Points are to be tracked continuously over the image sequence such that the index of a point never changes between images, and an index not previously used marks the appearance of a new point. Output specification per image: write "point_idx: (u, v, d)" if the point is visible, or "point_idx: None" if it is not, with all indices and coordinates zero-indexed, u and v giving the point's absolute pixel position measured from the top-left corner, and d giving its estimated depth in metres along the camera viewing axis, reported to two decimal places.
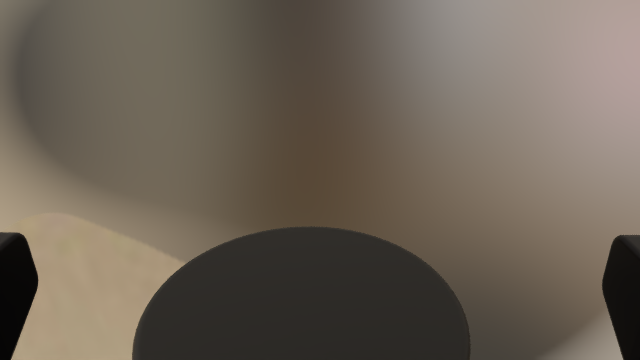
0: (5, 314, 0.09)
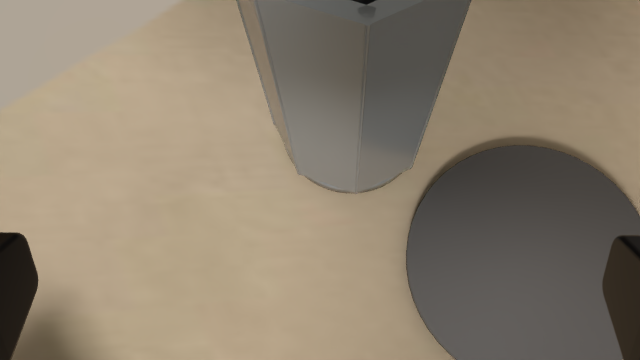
0: (5, 314, 0.09)
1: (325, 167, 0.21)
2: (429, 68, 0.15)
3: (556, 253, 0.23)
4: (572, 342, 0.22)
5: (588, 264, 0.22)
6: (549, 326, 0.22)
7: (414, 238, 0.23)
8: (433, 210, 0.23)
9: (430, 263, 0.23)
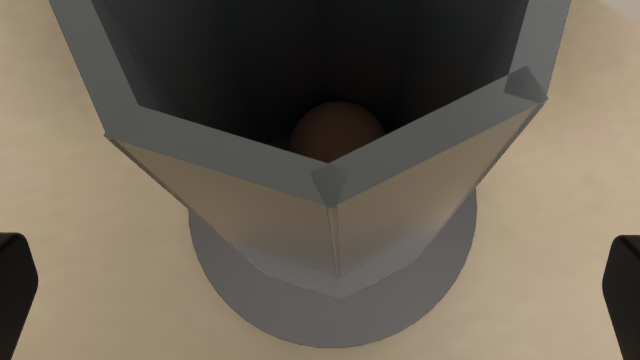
0: (5, 314, 0.09)
1: (297, 279, 0.16)
2: (443, 202, 0.09)
3: None
4: (395, 278, 0.18)
5: None
6: None
7: None
8: None
9: None
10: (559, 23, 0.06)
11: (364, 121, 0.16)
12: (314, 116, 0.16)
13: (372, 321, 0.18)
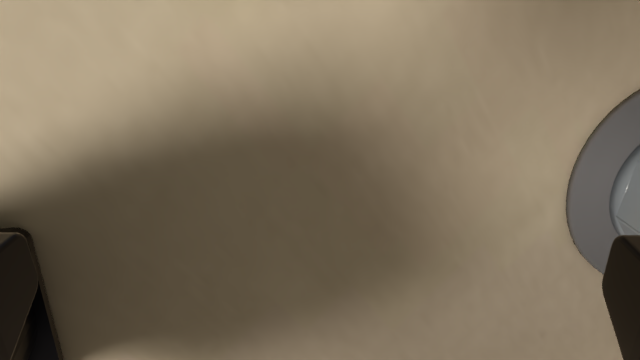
0: (5, 314, 0.09)
1: None
2: None
3: None
4: None
5: None
6: None
7: None
8: None
9: None
10: None
11: None
12: None
13: (588, 231, 0.24)
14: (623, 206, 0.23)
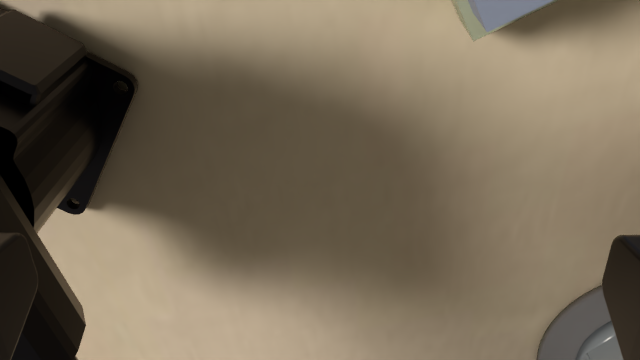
0: (5, 314, 0.09)
1: None
2: None
3: None
4: None
5: None
6: None
7: None
8: None
9: None
10: None
11: None
12: None
13: (556, 349, 0.27)
14: (598, 350, 0.26)
